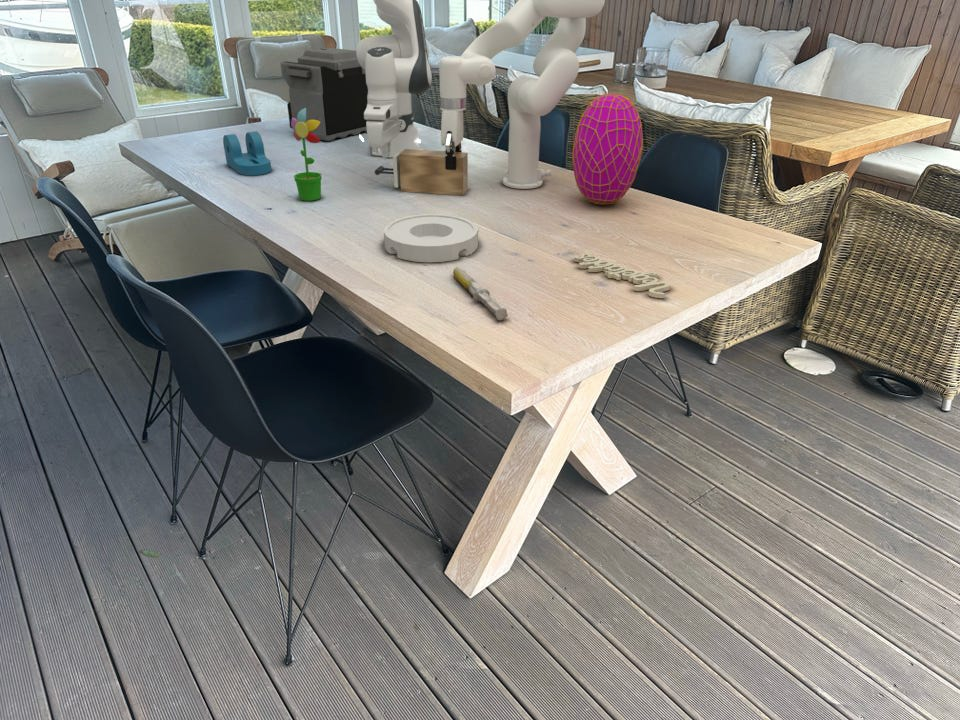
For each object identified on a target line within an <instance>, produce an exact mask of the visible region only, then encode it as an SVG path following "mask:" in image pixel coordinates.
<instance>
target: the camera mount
mask: <svg viewBox="0 0 960 720" xmlns="http://www.w3.org/2000/svg"><path fill="white" fill-rule="evenodd" d="M222 140H223V141H222V143H223V149H224V150H223V151H224V156H225V161H226V165H227V166H228V167H230V168H231V169H232V170H234V171H236V172H237V173H238V174H239V175H244V176H260V175H265V174H268V173H271V172H272V164H271V159H270V158H268V157H267V156H266V153H265V145H264V141H263V139H262V136H261V134H260V132H258V131H247V132H246V133H245V146H246V152H243V151H242V150H243V149H242V146H241V142H240V140H239V138H238V135H236V134H235V133H231V134H224V135H223V138H222Z"/></svg>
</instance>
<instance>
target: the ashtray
mask: <svg viewBox="0 0 960 720" xmlns="http://www.w3.org/2000/svg"><path fill="white" fill-rule="evenodd" d="M383 238H384V239H383V240H384V249H385V251H386V252H387V253H388V254H390V255H396V256H397V258H398V259H401V260H403V261H410V262H415V263H416V262H417V263H443V262H450V261H455V260H459V257H461V256H464V257H468V256H470V255H472V254H473V253H474V252H475V251H477V249H478V246H479V227H478V225H477V224H475V222H473V221H471V220H469V219H468V218H465V217H461V216H459V215H457V216H456V215H451V214H446V213H445V214H443V213H421V214H420V213H419V214H413V215H407V216H403V217H399V218H397V219H394V220H392V221H391V222H388V223H387V224H386V225H385V226H384V228H383Z"/></svg>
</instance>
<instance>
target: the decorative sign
mask: <svg viewBox="0 0 960 720" xmlns="http://www.w3.org/2000/svg"><path fill="white" fill-rule="evenodd" d="M574 262H575V263H578V269H588V270H587V272H588V273H598V272H603V273H604V276H606V277H607V278H608V279H614V280H617V281H621V279H622V280H627V281H628V282H630V283H633V284H634V285H633V291H636V292H643V291H647V290H648V293H647V294H648V296H649V297H652V298H656V299H664V298H665V295H666V292H668V291H669V290H670V289H671V283H670V282H668V281H659V279H658V272H657V271H648V272H639V271H637V270H634V269H630V268H628V267H627V266H626V267H625V266H624V265H619V264H618V263H615V262H611V261H610V260H604V258H601V257H598V256H596V255H592V254H590V253H587V252H586V253H582V254H581V255H580V256H578V255H575V256H574Z"/></svg>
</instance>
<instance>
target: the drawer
mask: <svg viewBox="0 0 960 720" xmlns="http://www.w3.org/2000/svg"><path fill="white" fill-rule="evenodd" d="M400 153H401V152H397V153H396V154H395V155H394V156H393V158H392V167H384V165H380V166H378V167H377V168H376V169H375V170H374V174H375V175H376V176H379V175H381V174H385V175H393V186H394V188H399V187H401V184H400V164H399V154H400Z"/></svg>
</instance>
